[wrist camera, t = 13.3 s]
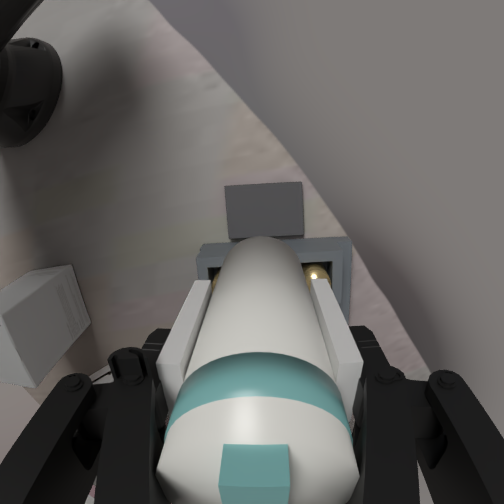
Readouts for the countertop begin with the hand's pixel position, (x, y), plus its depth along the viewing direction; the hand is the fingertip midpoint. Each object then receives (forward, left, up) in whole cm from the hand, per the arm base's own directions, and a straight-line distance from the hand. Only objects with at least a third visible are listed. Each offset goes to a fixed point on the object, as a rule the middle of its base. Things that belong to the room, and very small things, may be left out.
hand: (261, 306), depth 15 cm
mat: (-1, 0, -20) cm, 20 cm away
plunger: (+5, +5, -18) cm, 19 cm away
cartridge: (0, 0, -4) cm, 4 cm away
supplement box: (+9, -29, -21) cm, 36 cm away
